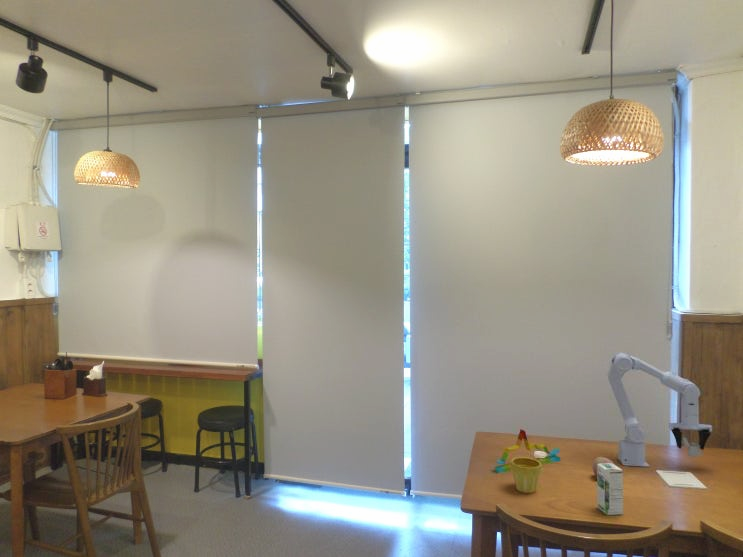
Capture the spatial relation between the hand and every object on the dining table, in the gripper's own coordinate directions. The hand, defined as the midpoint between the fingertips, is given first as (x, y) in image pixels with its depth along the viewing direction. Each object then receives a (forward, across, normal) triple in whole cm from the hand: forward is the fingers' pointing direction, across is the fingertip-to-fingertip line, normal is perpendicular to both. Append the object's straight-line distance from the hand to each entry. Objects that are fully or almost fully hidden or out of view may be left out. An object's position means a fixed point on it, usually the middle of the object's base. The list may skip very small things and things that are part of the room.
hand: (690, 448), depth 191 cm
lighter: (+3, 0, 0) cm, 3 cm away
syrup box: (+8, -39, -42) cm, 58 cm away
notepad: (+8, -8, -12) cm, 16 cm away
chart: (+9, -61, -7) cm, 62 cm away
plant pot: (+9, -64, -30) cm, 71 cm away
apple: (+8, -35, -16) cm, 39 cm away
